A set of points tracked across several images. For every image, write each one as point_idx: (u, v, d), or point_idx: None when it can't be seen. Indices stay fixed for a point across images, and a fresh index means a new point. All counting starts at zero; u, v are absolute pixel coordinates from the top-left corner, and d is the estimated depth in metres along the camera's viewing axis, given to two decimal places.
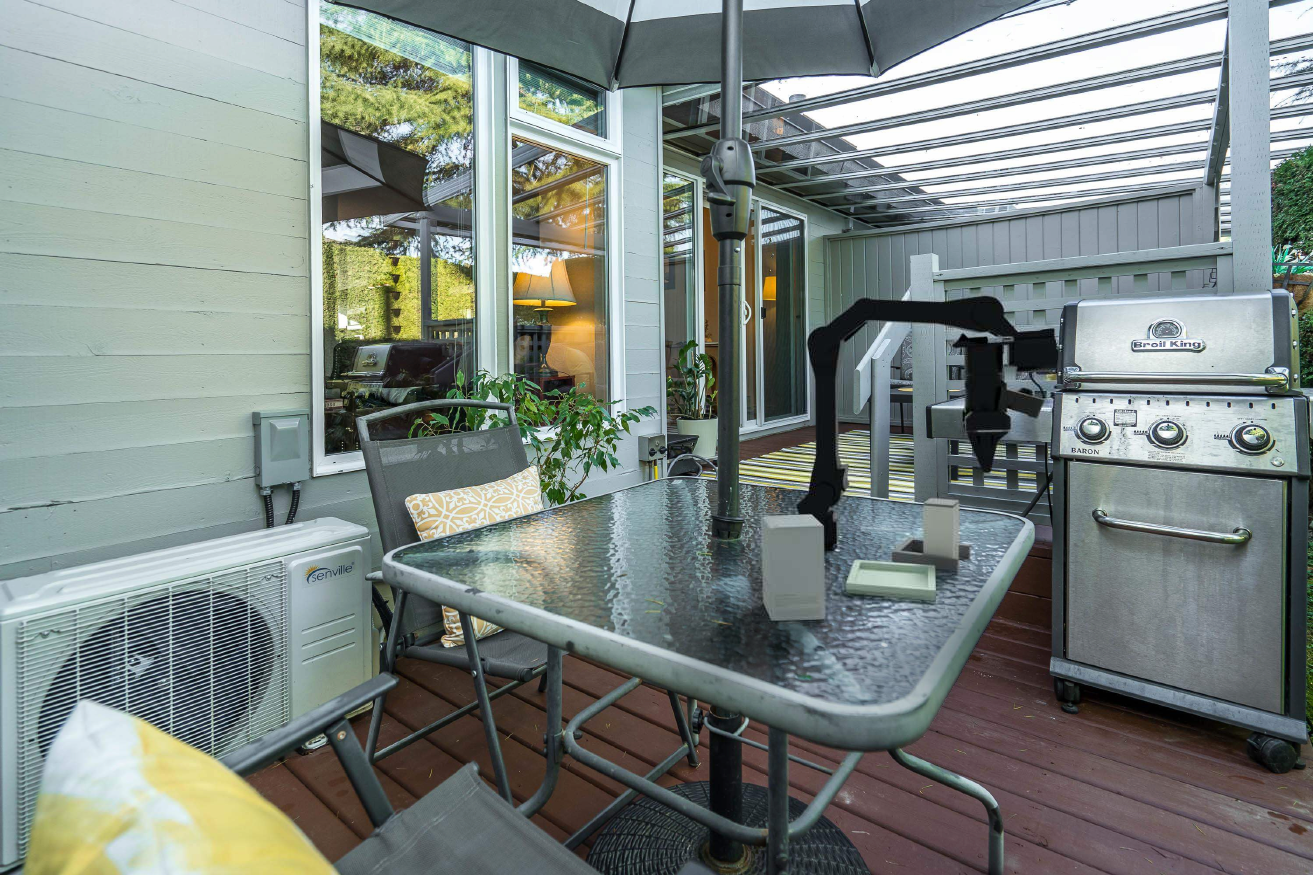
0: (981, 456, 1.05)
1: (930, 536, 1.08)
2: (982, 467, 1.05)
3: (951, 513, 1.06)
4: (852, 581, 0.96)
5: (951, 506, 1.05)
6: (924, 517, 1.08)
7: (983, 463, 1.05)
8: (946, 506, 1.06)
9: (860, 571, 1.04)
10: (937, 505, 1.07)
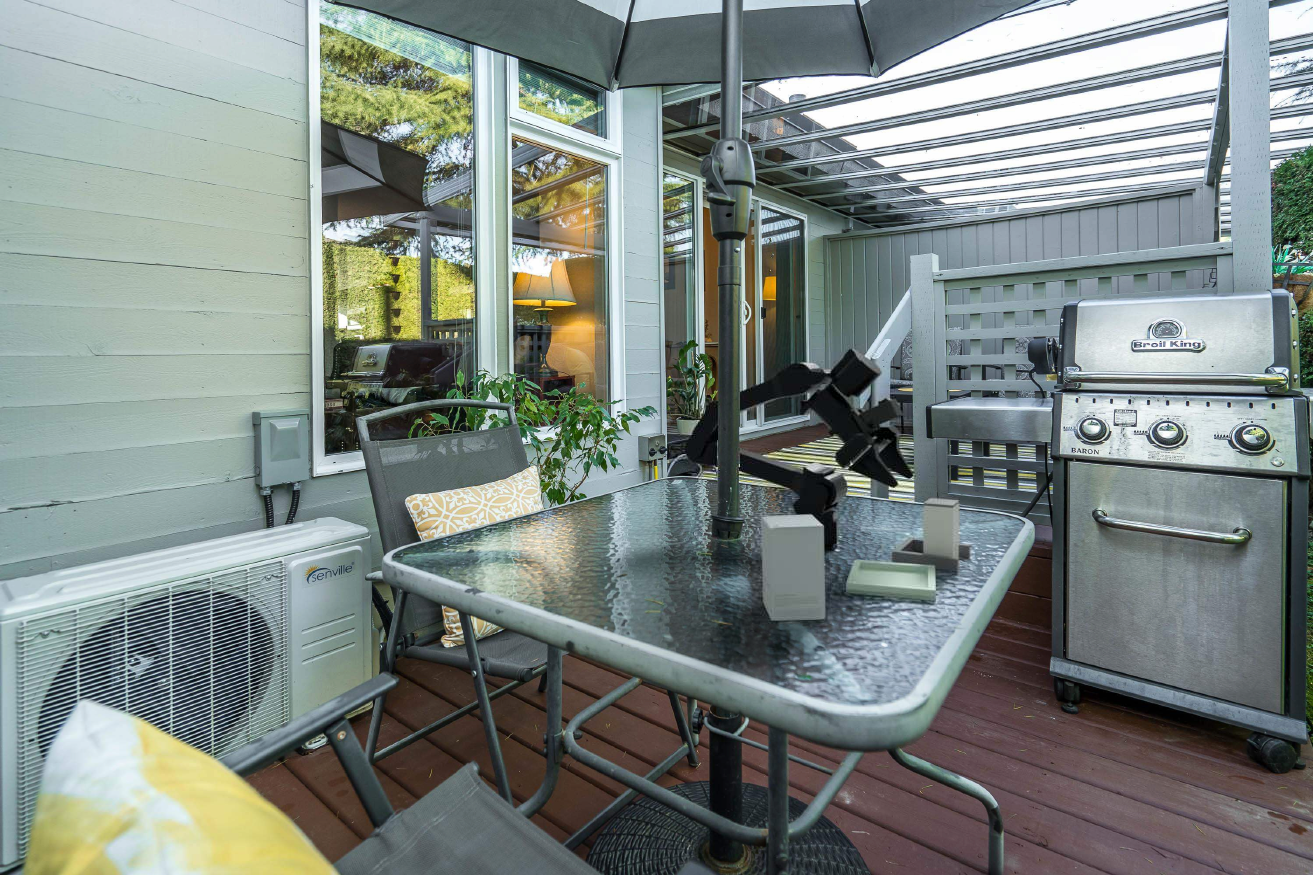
0: (878, 477, 1.08)
1: (930, 536, 1.08)
2: (888, 484, 1.08)
3: (951, 513, 1.06)
4: (852, 581, 0.96)
5: (951, 506, 1.05)
6: (924, 517, 1.08)
7: (885, 481, 1.08)
8: (946, 506, 1.06)
9: (860, 571, 1.04)
10: (937, 505, 1.07)
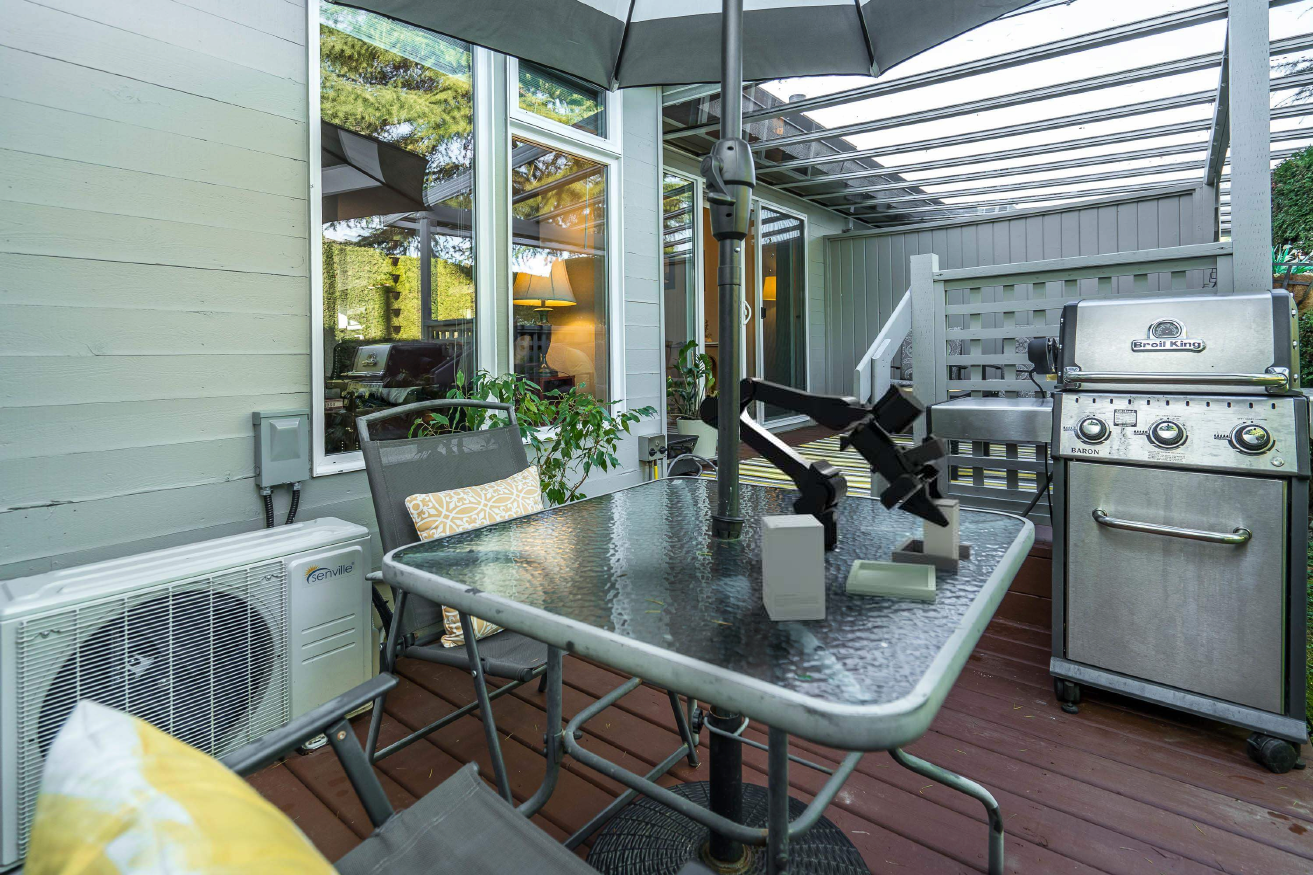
0: (928, 516, 1.07)
1: (930, 536, 1.08)
2: (939, 524, 1.06)
3: (951, 513, 1.06)
4: (852, 581, 0.96)
5: (951, 506, 1.05)
6: None
7: (936, 520, 1.06)
8: (946, 506, 1.06)
9: (860, 571, 1.04)
10: (937, 505, 1.07)
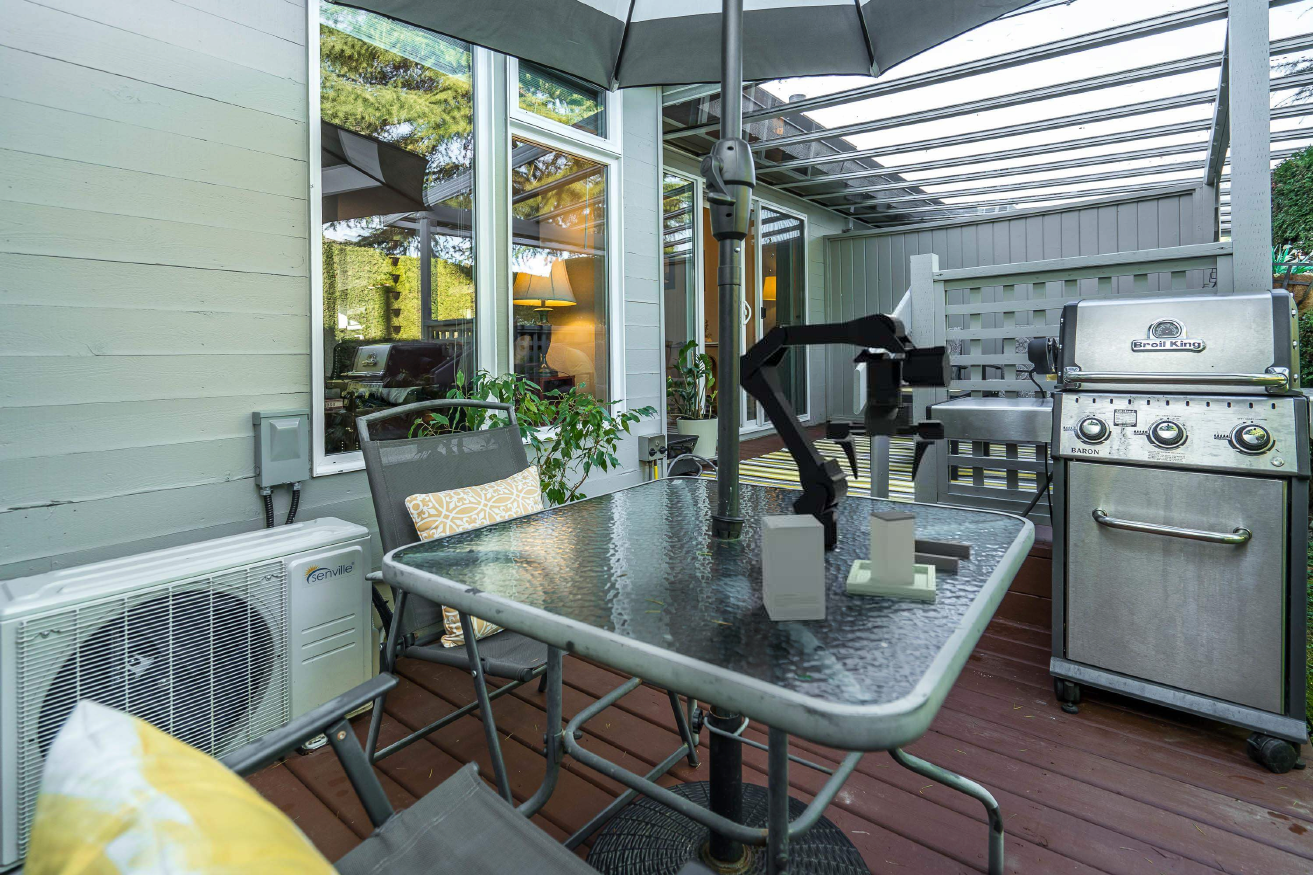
0: None
1: (874, 550, 0.99)
2: None
3: (886, 527, 0.96)
4: (852, 581, 0.96)
5: (886, 520, 0.96)
6: (870, 528, 1.00)
7: None
8: (883, 519, 0.96)
9: (860, 571, 1.04)
10: (878, 517, 0.98)
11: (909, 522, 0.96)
